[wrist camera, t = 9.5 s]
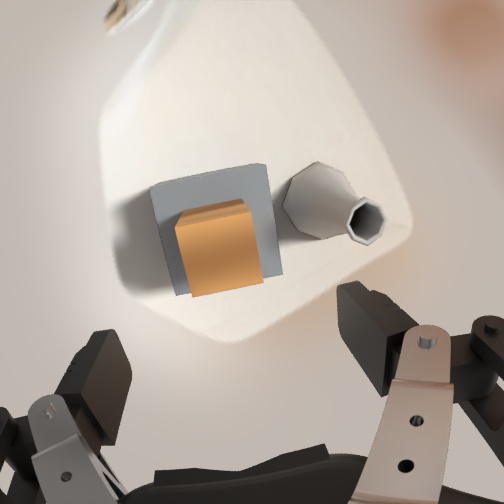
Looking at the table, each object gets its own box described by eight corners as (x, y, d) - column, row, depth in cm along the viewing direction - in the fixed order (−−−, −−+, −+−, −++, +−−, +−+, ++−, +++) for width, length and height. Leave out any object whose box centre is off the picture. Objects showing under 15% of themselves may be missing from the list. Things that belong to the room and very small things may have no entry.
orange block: (183, 210, 24) (174, 227, 18) (241, 198, 24) (250, 211, 18) (196, 265, 25) (192, 297, 19) (251, 253, 25) (263, 282, 20)
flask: (323, 251, 32) (367, 290, 22) (268, 207, 30) (295, 232, 20) (366, 195, 30) (425, 214, 21) (315, 148, 28) (362, 146, 19)
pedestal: (159, 182, 28) (149, 188, 23) (256, 163, 28) (265, 164, 23) (180, 274, 30) (175, 295, 26) (271, 255, 31) (282, 274, 26)
